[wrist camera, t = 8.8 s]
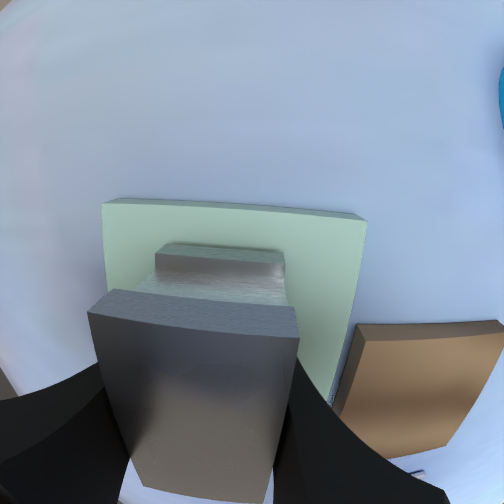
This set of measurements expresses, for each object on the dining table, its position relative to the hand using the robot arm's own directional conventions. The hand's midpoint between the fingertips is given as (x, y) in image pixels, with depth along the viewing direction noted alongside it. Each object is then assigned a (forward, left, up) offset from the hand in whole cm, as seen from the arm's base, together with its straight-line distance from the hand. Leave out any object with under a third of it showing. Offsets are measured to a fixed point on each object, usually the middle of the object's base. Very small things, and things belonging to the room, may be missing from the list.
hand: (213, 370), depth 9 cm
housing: (0, 0, -2) cm, 2 cm away
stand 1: (0, 0, -4) cm, 4 cm away
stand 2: (-5, -11, -4) cm, 13 cm away
